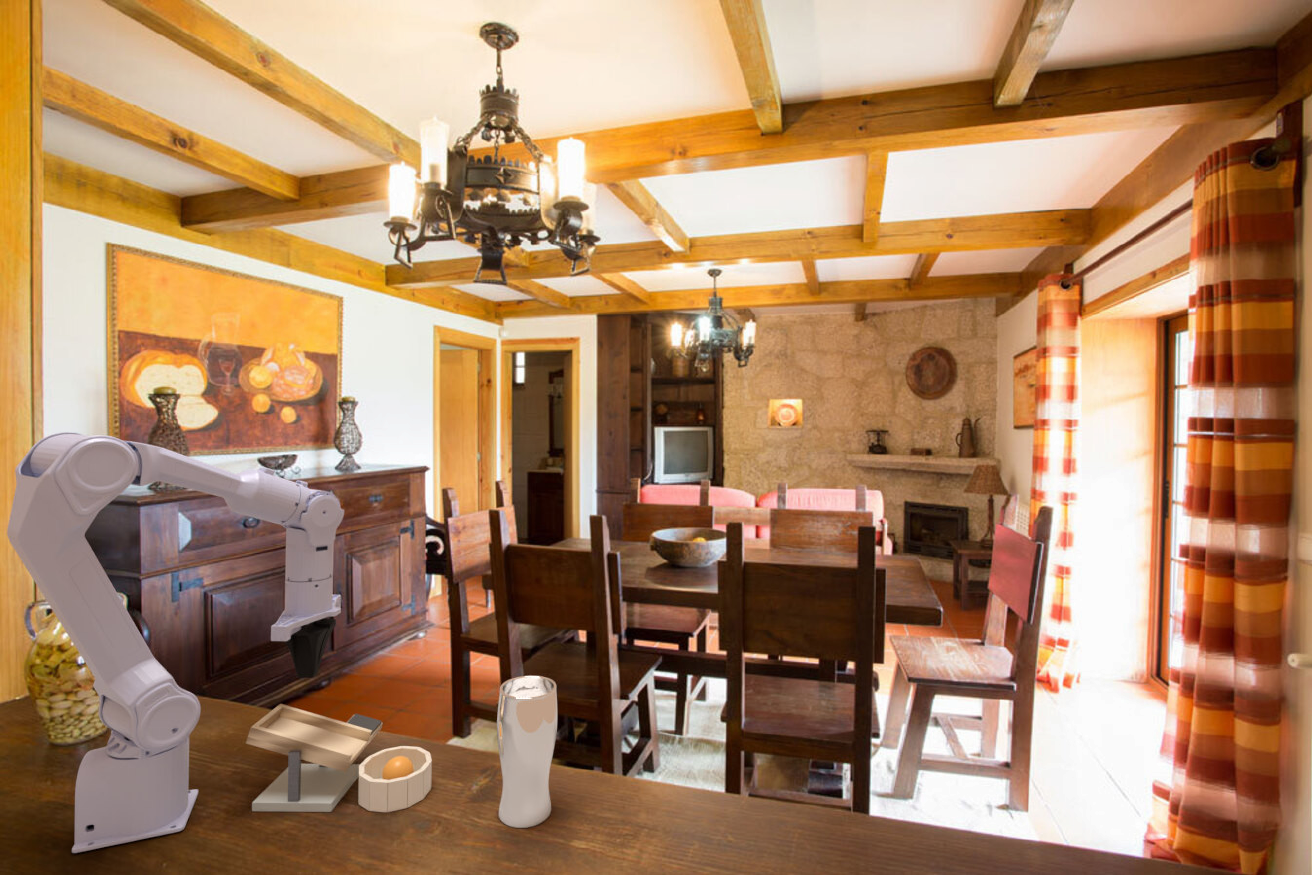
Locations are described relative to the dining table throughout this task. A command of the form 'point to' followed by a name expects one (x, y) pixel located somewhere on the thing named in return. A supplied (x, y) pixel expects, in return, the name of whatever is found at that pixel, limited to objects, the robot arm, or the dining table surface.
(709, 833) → the dining table surface
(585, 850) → the dining table surface
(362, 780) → the cup
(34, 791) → the dining table surface
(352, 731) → the tilting wooden tray
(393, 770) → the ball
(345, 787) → the stand
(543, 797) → the beer glass
